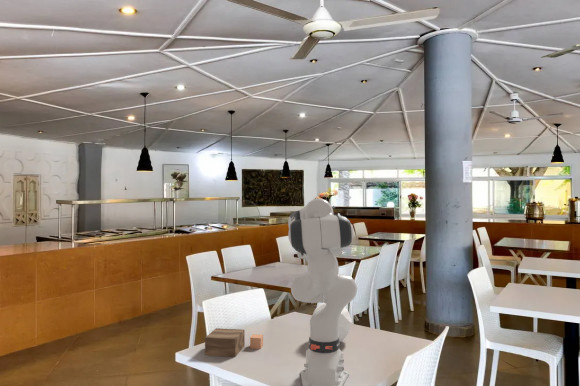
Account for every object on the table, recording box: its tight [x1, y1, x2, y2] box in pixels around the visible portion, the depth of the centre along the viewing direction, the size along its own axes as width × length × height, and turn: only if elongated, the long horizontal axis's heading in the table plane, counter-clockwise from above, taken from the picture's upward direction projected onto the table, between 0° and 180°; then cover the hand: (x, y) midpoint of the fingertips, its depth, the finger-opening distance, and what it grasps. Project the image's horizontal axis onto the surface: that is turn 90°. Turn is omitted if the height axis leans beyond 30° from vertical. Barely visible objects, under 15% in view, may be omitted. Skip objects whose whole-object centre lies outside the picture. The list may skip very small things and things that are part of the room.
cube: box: [249, 333, 264, 350], centre depth 201 cm, size 5×5×5 cm
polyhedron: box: [312, 303, 353, 343], centre depth 207 cm, size 19×20×20 cm
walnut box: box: [204, 327, 246, 358], centre depth 196 cm, size 14×14×8 cm
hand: (320, 266), depth 197 cm, fingers open, 8 cm apart
